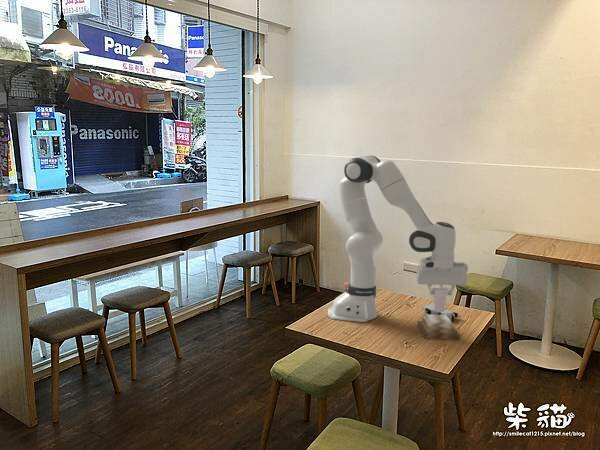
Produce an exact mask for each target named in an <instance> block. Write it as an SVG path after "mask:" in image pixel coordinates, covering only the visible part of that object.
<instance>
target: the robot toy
mask: <svg viewBox="0 0 600 450" xmlns="http://www.w3.org/2000/svg"><path fill="white" fill-rule="evenodd" d="M420 309H422V310H423V311H424V313H425V314H426V315H447V317H448V318H449V319H450V321H451V322H452V321H454V320H455V318H462V315H461V314H459V313H458V312H454V311H451V310H449V309H448V307H447V306H446V305H445V308H444V312H436V311H435V308H434V302H433V303H432V302H431V303H429V304H426V305H425V306H424V308H423V307H422V306H420Z"/></svg>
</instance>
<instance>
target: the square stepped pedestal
mask: <svg viewBox="0 0 600 450" xmlns="http://www.w3.org/2000/svg"><path fill="white" fill-rule="evenodd" d="M416 326H417V328H418V329H419V331H420V333H421V335H422V337H423V339H427V340H431V339H433V340H455V341H456V340H458V341H459V340H460V334H459V332H458V331H457V329H456V328H455V327H454V325H453V322H452V320H451V321H450V319H449V318H448V317H447V315H428V314H427V313H425V314H424V317H422V318H421V320H417V321H416Z"/></svg>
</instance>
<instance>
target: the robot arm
mask: <svg viewBox="0 0 600 450" xmlns="http://www.w3.org/2000/svg"><path fill="white" fill-rule="evenodd" d="M343 173H344V177H343V178H341V180H340V182H339V194H340V200H341V205H342V209H343V213H344V217H345V220H346V222H347V223H348V224H349V225H350V227H351V229H352V230H353V233H354V234H352V235H351V236H350V237H348V239H347V240H346V243H345V251H346V253H347V255H348V257H349V258H348V259H349V263H350V283H349V282H345V283H344V288H345V291H344V292H343V293H341V294H340V295H338V296H337V297H335V298H334V300H333V304H332V306H330V307H329V308H328V309H327V316H328V318H330V319H332V320H341V321H349V322H359V323H360V322H361V323H366V322H368V321H370V320H374V319H375V318H377V317H378V312H377V307H376V295H377V284H376V278H377V277H376V274H377V268H376V266H375V263H374V258H373V256H374V252H375V253H376V252H377V251H379V248H380V247H381V246H382V244H383V241H384V240H383V237H384V236H383V234H382V233H381V231H380V230H379V229H378V227H377V225H376V223H375V222H374V218H373V217H372V213H371V211H370V205H369V203H368V202H369V201H368V199H367V194H366V191H365V186H366V184H369V183H371V182H372V181H373V182H375V183H376V184H377V186H378V188H379V190H380V191H381V194H382V196H383V198H385V200H386V201H387V202H388V203H389V204H390V205H391V206H394V207H396V208H399V209H401V210H403V211H404V212H405V213H406V214H407V215H408V216H409V219H410V220H411V222H412V223H413V224H414V226H415V228H416V230H414V231H412V233H411V234H410V235H409V237H408V244H409V246H410V248H411V249H412V250H413V251H414V252H417V253H429V252H431V256H427V257H424V258H421V259H419V266H418V267H417V271H416V275H415V281H416V282H417V283H418V285H426V286H427V288H428V290H429V291H428V294H429V295H430V296H434V291H433V289H432V288H431V287H433V286H432V285H434V286H437V285H438V286H441V285H442V286H450V287H449V291H448V293H447V296H452V295H453V291H454V290H455V288H456V286H465V285H467V283H468V275H467V274H468V271H469V266H468V264H467V263H465V262H464V261H463V262H457V261H455V247H456V229H455V226H454V225H453V224H450V223H448V222H444V221H437V222H435V223H432V222H431V220H430V219H429V218H428V215H426V213H425V211H424V210H423V208H422V206H421V205H420V203H419V202H418V201H417V199H416V197H415V195H414V194H413V192H412V190H411V188H410V185H409V184H408V182H407V180H406V178H405V177H404V175H403V173H402V172H401V170H400V169H399V168H398V166H397V165H396V164H395V163H394V161H392V160H391V159H385V160H380V159H379V158H378V157H377V156H375V155H360V156H357V157H353V158H351V159H349V160H347V162H346V163H345V165H344V168H343Z"/></svg>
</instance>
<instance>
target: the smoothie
mask: <svg viewBox="0 0 600 450" xmlns="http://www.w3.org/2000/svg"><path fill="white" fill-rule="evenodd" d="M432 290H433V291H434V295H433V303H434V308H435V311H436V312H444V308H445V306H446V301H447V296H448V295H447V293H448V291H449V290H450V288H448V287H446V286H444V285H438V286H437V285H434V286H432Z"/></svg>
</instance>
